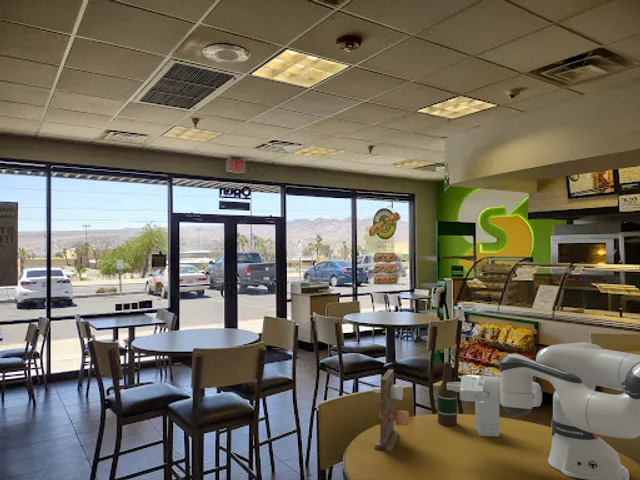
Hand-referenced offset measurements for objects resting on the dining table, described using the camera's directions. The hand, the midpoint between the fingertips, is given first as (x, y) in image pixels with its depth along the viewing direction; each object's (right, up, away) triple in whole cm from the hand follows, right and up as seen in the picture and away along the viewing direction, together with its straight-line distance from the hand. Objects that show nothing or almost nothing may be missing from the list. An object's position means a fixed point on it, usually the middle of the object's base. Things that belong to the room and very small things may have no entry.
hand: (446, 385), depth 167 cm
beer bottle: (+7, -23, +25) cm, 35 cm away
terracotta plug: (-18, -15, +5) cm, 24 cm away
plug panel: (-20, -22, +6) cm, 30 cm away
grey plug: (-20, -6, +6) cm, 21 cm away
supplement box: (+19, -23, +15) cm, 33 cm away
